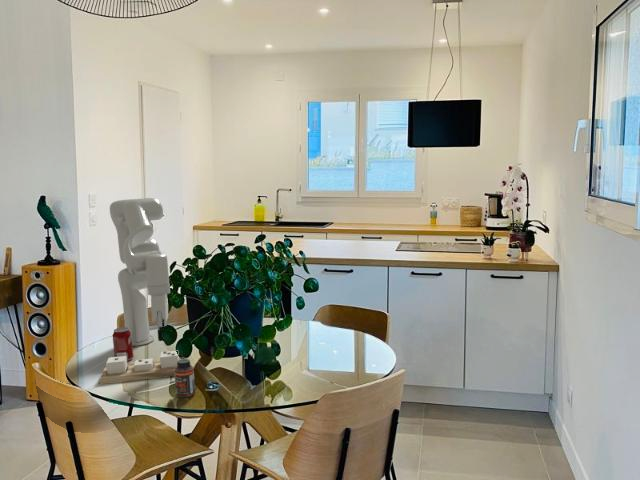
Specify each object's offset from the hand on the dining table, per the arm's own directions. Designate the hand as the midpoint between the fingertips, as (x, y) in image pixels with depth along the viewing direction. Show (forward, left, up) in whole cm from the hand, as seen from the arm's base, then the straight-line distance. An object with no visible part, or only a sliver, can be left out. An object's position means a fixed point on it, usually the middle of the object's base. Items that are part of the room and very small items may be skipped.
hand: (163, 340), depth 217 cm
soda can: (-18, -16, -12) cm, 27 cm away
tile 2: (0, -7, -11) cm, 13 cm away
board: (0, -7, -11) cm, 14 cm away
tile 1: (0, -16, -9) cm, 19 cm away
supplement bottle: (+26, +8, -12) cm, 29 cm away
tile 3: (0, +2, -9) cm, 9 cm away
